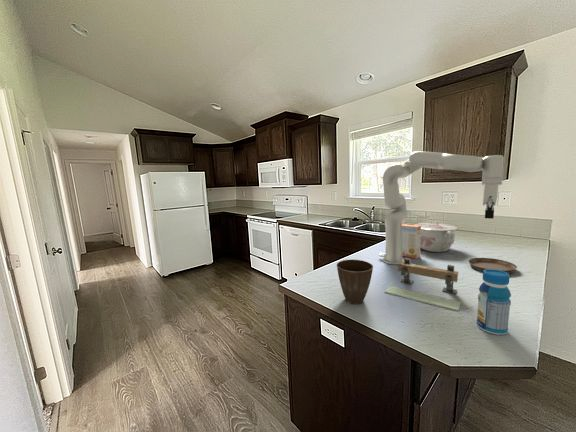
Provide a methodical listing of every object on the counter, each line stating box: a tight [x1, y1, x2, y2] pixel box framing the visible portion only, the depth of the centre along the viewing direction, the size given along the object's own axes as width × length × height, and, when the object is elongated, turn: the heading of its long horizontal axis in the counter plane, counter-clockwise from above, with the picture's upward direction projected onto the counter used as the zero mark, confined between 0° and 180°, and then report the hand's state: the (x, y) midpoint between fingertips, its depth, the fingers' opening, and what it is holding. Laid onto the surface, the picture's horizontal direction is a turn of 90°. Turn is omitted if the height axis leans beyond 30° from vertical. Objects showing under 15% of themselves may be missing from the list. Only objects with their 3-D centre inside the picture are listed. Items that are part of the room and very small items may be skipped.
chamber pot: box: [413, 220, 459, 253], centre depth 173 cm, size 28×28×21 cm
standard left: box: [400, 257, 414, 285], centre depth 121 cm, size 5×9×12 cm, turn 140°
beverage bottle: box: [476, 269, 512, 336], centre depth 83 cm, size 8×8×20 cm
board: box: [384, 285, 461, 312], centre depth 107 cm, size 28×7×1 cm, turn 50°
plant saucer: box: [468, 257, 518, 274], centre depth 136 cm, size 21×21×3 cm
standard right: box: [442, 264, 458, 295], centre depth 109 cm, size 5×9×12 cm, turn 140°
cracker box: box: [402, 223, 421, 259], centre depth 162 cm, size 14×6×21 cm, turn 39°
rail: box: [397, 262, 459, 283], centre depth 114 cm, size 24×4×4 cm, turn 50°
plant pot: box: [336, 259, 374, 305], centre depth 106 cm, size 15×15×16 cm
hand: (489, 216), depth 121 cm, fingers open, 9 cm apart
